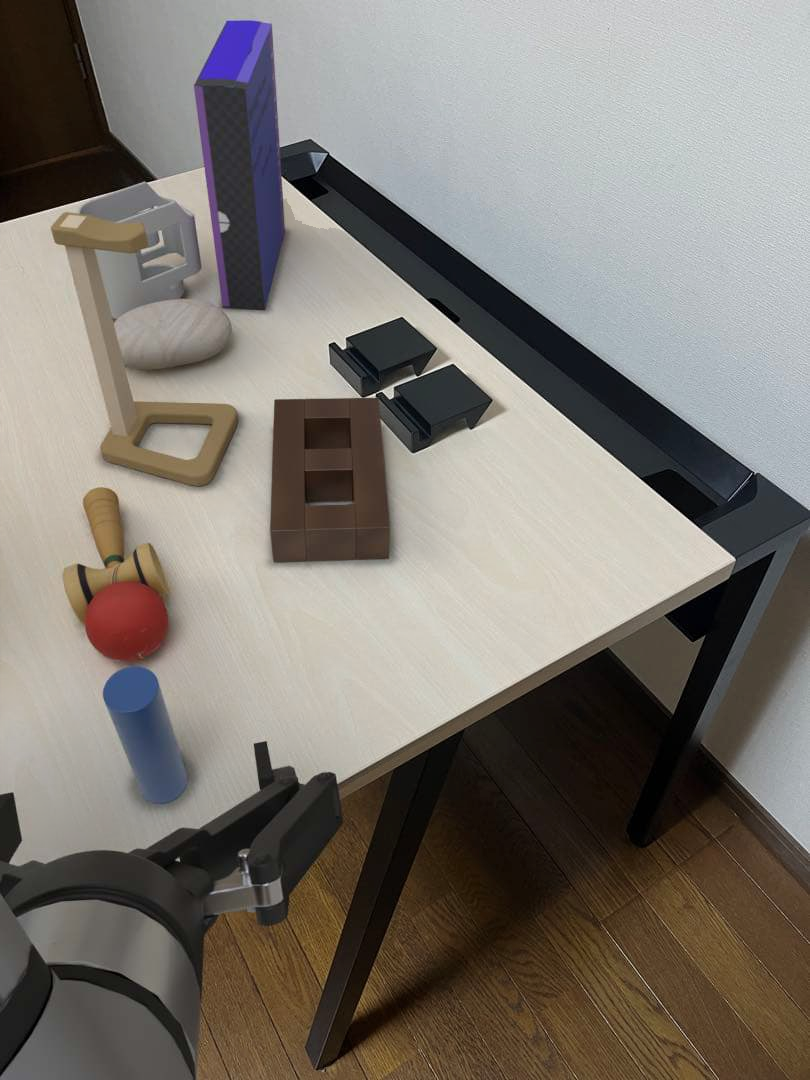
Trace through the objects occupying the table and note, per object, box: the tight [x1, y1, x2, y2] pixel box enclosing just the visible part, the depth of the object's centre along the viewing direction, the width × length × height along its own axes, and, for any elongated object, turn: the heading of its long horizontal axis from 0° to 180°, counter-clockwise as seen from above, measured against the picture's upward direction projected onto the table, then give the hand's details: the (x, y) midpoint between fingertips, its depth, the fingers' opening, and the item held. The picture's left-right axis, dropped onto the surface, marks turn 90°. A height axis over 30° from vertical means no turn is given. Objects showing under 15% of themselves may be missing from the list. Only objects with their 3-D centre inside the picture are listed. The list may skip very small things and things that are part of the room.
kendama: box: [62, 486, 169, 662], centre depth 70 cm, size 8×6×18 cm
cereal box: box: [193, 19, 286, 311], centre depth 95 cm, size 17×5×24 cm, turn 178°
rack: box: [269, 397, 391, 563], centre depth 78 cm, size 10×17×4 cm, turn 5°
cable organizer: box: [76, 181, 203, 321], centre depth 94 cm, size 7×12×12 cm, turn 134°
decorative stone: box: [113, 298, 233, 370], centre depth 91 cm, size 13×9×5 cm
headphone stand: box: [50, 211, 239, 487], centre depth 75 cm, size 10×11×22 cm
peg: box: [102, 665, 188, 805], centre depth 56 cm, size 3×3×12 cm
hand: (140, 790), depth 48 cm, fingers open, 13 cm apart
